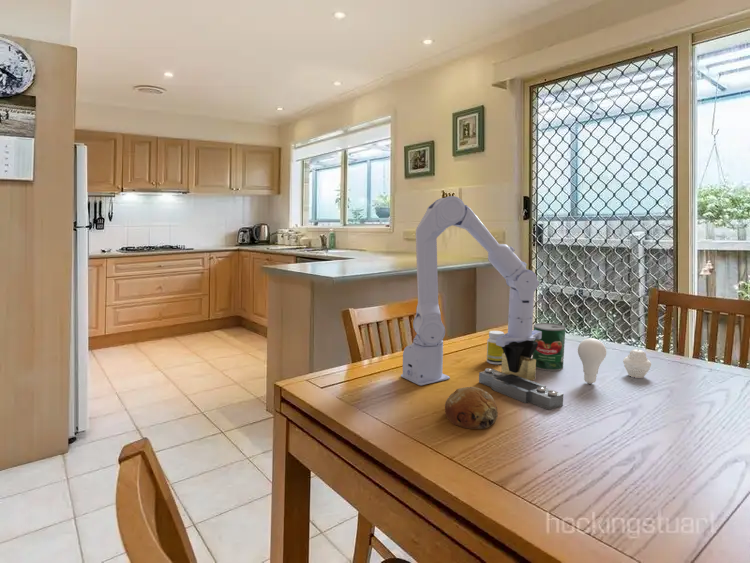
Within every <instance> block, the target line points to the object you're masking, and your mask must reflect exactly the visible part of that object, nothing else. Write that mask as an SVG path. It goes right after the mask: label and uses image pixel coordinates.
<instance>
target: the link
mask: <svg viewBox="0 0 750 563" xmlns="http://www.w3.org/2000/svg"><path fill="white" fill-rule="evenodd" d="M536 369H537V368H536V359H532V357H531V358H530V357H526V356H522V355H521V356H520V360H519V368H518V372H517V373H514V372H511V371H509V367H508V362H507V359H506V356H505V353H502V364H501V371H500V372H502V373H505V374H508V375H510V374H513V375H516V376H519V377H522V378H525V379H527V380H530V381H534V380H536Z"/></svg>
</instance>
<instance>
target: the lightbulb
mask: <svg viewBox="0 0 750 563" xmlns="http://www.w3.org/2000/svg"><path fill="white" fill-rule="evenodd" d="M577 355H578V356H579V359H580V361H581V363H582V368H583V369H582V370H583V371H582V372H583V373H584V375H583V380H584V382H586V383H587V384H590V385H592V384H595V383H596V381H597V375H598V374H599V369H600V367H601V364H602V363H603V361H605V359H606V356H607V348H606V346H605V344H604V343H603V342H602V341H601V340H599V339H597V338H593V337H592V338H591V337H590V338H585V339H584V340H582V341H581V342H580V343H579V344H578V347H577Z"/></svg>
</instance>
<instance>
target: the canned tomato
mask: <svg viewBox="0 0 750 563" xmlns="http://www.w3.org/2000/svg"><path fill="white" fill-rule="evenodd" d="M566 328H567V327H566V326H564V325H563V324H560V323H559V324H558V323H551V322H539V323H535V324H533V330H537V331H542V337H541V339H535V340H533V341H535V342H537V343H538V346H537V348H536V349H535V351H534V352H533V354H532V357H531V358H532V359H536V369H537V370H541V371H547V372H548V371H550V372H555V371H556V372H557V371H558V372H559V371H562V370H564V359H565V342H566V339H565V338H566V330H567V329H566Z"/></svg>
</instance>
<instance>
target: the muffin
mask: <svg viewBox="0 0 750 563" xmlns="http://www.w3.org/2000/svg"><path fill="white" fill-rule="evenodd" d="M622 361H623V362H622V363H623V364H624V365H623V367H624V368H625V370H626V373H627V375H628V376H629V377H630V376H631V378H634V377H635V378H634V379H643V378H644V377H646V375H647V374H648V373H649V371H650V368H651V366H652V362H651V361H650V359H648V356H647V353H646V352H645V351H644V350H641V349H639V348H637V349H631V351H629V354H628V355H627V356H626V357H624V358H623V360H622Z"/></svg>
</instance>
